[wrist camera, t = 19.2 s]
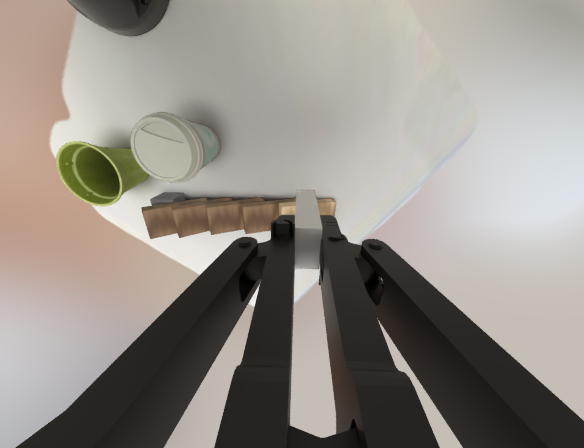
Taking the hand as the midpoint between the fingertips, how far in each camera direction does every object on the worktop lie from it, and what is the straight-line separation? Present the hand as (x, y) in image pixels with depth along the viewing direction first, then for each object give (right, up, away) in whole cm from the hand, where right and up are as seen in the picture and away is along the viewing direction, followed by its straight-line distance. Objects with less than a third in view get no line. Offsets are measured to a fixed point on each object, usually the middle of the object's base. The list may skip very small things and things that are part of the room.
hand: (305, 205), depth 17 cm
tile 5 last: (-17, +1, +23) cm, 28 cm away
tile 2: (0, +1, +22) cm, 22 cm away
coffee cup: (-16, +13, +19) cm, 28 cm away
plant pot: (-30, +9, +21) cm, 38 cm away
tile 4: (-12, +1, +23) cm, 26 cm away
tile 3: (-6, +1, +23) cm, 24 cm away
